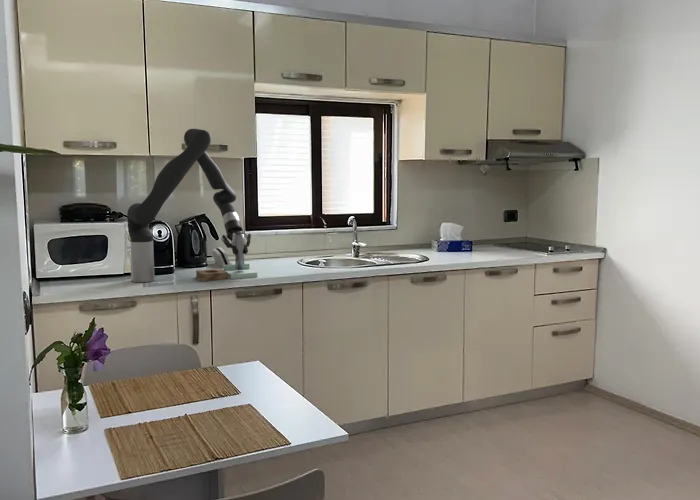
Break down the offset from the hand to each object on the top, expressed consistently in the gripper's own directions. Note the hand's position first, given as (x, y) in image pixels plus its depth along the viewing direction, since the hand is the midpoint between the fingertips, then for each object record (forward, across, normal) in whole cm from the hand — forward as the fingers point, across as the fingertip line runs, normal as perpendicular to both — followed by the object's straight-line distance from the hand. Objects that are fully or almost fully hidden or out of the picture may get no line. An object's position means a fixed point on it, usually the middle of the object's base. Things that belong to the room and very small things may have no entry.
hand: (241, 253), depth 282 cm
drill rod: (+4, 0, +7) cm, 8 cm away
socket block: (+6, -13, +9) cm, 17 cm away
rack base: (+6, 0, +9) cm, 11 cm away
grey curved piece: (-17, +1, +32) cm, 36 cm away
